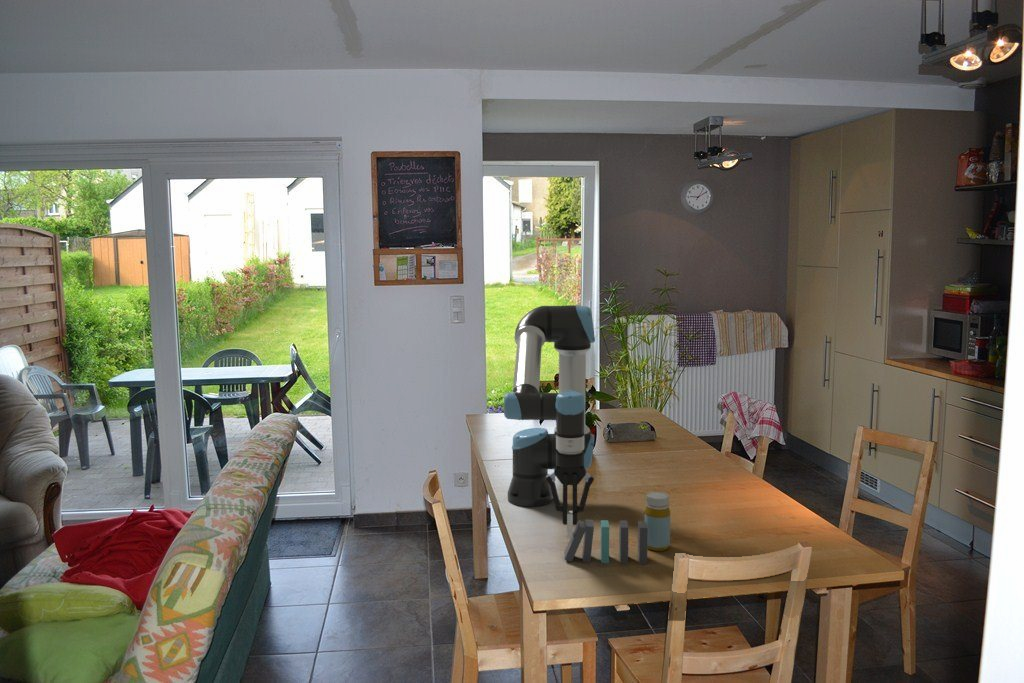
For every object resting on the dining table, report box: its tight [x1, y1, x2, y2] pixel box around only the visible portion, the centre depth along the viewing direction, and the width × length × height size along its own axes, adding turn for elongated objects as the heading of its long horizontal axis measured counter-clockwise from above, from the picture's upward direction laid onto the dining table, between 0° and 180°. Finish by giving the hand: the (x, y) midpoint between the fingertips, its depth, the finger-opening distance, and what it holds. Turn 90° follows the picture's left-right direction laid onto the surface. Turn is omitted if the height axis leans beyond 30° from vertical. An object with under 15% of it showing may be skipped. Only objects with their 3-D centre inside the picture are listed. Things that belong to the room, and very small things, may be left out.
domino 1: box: [564, 519, 586, 563], centre depth 206 cm, size 2×5×10 cm, turn 178°
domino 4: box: [618, 520, 630, 564], centre depth 205 cm, size 2×5×10 cm, turn 176°
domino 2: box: [581, 519, 595, 564], centre depth 206 cm, size 2×5×10 cm, turn 176°
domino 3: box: [600, 519, 610, 564], centre depth 206 cm, size 2×5×10 cm, turn 176°
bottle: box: [644, 491, 671, 552], centre depth 213 cm, size 7×7×15 cm
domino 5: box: [637, 520, 648, 565], centre depth 205 cm, size 2×5×10 cm, turn 176°
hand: (569, 535), depth 206 cm, fingers closed
